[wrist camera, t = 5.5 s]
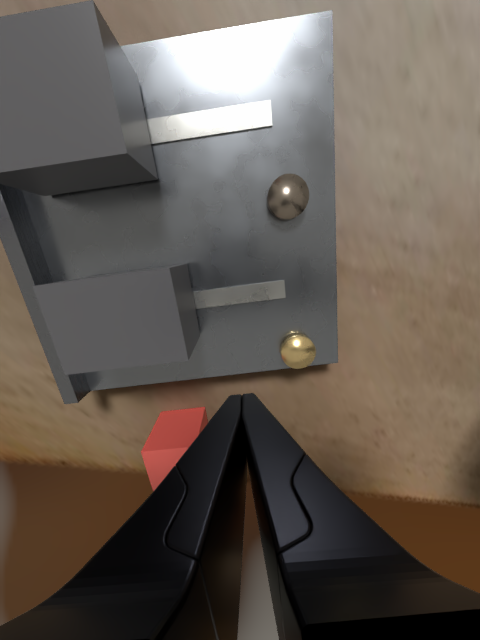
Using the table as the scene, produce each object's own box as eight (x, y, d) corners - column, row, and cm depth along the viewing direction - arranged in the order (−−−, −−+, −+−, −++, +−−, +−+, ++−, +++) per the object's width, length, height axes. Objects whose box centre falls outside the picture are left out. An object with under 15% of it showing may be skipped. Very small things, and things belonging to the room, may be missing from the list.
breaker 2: (187, 263, 16) (169, 267, 12) (200, 338, 17) (189, 363, 13) (82, 277, 16) (32, 286, 12) (105, 349, 17) (66, 378, 13)
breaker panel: (319, 42, 14) (344, -22, 11) (328, 351, 20) (346, 372, 16) (-2, 96, 15) (-72, 51, 12) (93, 378, 20) (64, 404, 17)
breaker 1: (137, 75, 13) (92, 0, 9) (158, 179, 14) (127, 153, 10) (12, 96, 13) (-83, 31, 9) (44, 196, 14) (-27, 176, 11)
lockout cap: (205, 406, 21) (195, 446, 17) (212, 442, 22) (205, 488, 18) (161, 411, 22) (141, 451, 17) (170, 447, 23) (153, 493, 18)
